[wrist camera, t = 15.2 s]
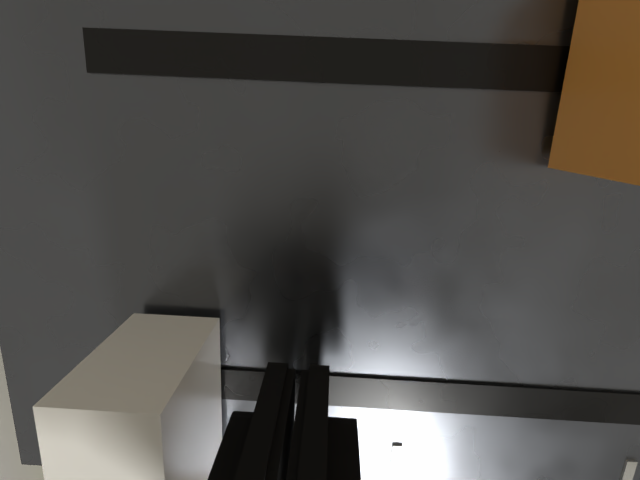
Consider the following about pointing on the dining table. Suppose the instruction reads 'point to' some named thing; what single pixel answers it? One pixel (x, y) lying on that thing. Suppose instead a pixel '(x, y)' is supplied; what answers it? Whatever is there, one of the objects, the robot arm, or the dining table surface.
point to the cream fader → (137, 405)
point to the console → (327, 220)
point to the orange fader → (601, 94)
